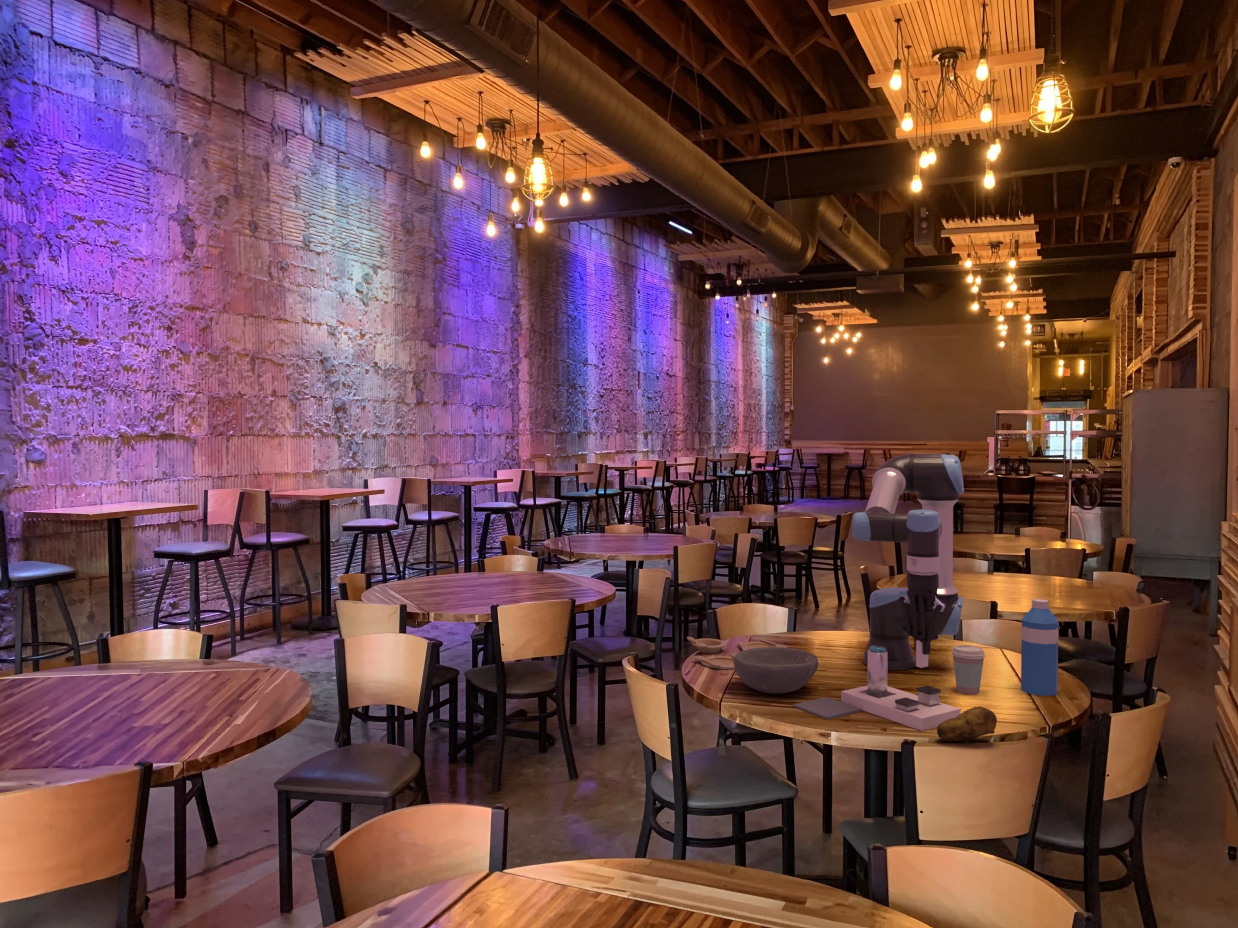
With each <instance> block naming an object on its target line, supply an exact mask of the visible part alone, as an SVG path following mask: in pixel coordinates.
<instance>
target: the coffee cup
mask: <svg viewBox="0 0 1238 928" xmlns="http://www.w3.org/2000/svg"><path fill="white" fill-rule="evenodd" d="M951 655H952V660H953V671H954V677H955V678H954V679H955V688H956V691H957V692H958V693H960V694H965V695H978V694H980V690H981V683H982V674H983V668H984V660H985V657H986V653H985V652H984V649H983V648H982V647H980V646H976V645H971V644H957V645H954V646H953V649H952V650H951Z"/></svg>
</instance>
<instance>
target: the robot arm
mask: <svg viewBox="0 0 1238 928" xmlns="http://www.w3.org/2000/svg"><path fill="white" fill-rule="evenodd" d="M871 485H872V490H871V493H870V496H869V499H868V502H867V505H866V507H865V511H861V512H860V511H859V512H855V513H854V514H853V516H852V521H851V522H852V525H851V526H852V527H851V530H852V536H853V538H854V539H855V540H856V541H863V542H864V541H865V542H882V543H906V544H907V545H906V546H907V547H906V570H907V571H908V572H907V573H906V587H899V586H898V587H887V588H886V587H885V588H881V589H877V590H874V591H872V592H871V594H870V596H869V605H868V607H869V639H868V642H867V645H866V648H865V651H864V653H863V664H864V665H866V666H868V650H869V649H870V646H875V645H876V646H883V647H886V651H888V671H906V670H911V669H913V668H915V667H917V668H920V669H922V668H926V667H927V668H928V667H929V655H930V654H931V643H932V641H935V640H936V641H937V640H938V638H939V636H954V635H955V636H956V635H957V634H958V632H959V629H960V622H961V617H962V610H963V602H964V597H962V596H960V595H959V589H957V588H956V587H955V586H954V584H953V583H954V582H953V576H954V575H953V574H954V573H953V572H954V571H953V570H954V569H953V568H954V563H953V561H954V558H953V556H954V555H953V554H954V549H953V548H954V536H953V535H954V505H956V503H958V502H959V495H960V496H961V495H963V494H964V492H965V488H964V478H963V471H962V465H961V460H960V458H959V457H958V456H956V455H955V454H954V455H953V454H943V453H941V454H940V453H937V454H936V453H935V454H933V453H932V454H931V453H930V454H929V453H928V454H910V453H909V454H900V455H898V456H894V457H892V458H890V459H888V460H887V461H885V462H884V463H883V462H882V464H881V465H880V466H879V467H877V468H876V470H875V472H874V474H873V476H872V480H871ZM907 493H909V494H916V498H917V499H916V500H917V501H918V502H919V503H920V504H921V505H922V506H921V507H922V509H911V510H909V511H908V512H907V513H896V509H897V506H898V501H899V497H900V495H902V494H907ZM910 637H911V638H912V639H913V645H914V646H913V650H914V653H915V656H914V653H913V650H912V645H911V642H910Z"/></svg>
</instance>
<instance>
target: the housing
mask: <svg viewBox="0 0 1238 928" xmlns="http://www.w3.org/2000/svg"><path fill="white" fill-rule="evenodd" d="M901 698H909V699H913V700H916V701H918V694H917V695H916V694H914V693H911V692H909V691H908V692H907V691H904V690H901V689H898V688H895V687H892V686H889V685H887V697H882V698H876V697H873V696H870V695H867V685H865V686H859V687H856V688H855V687H854V688H850V689H845V690H842V691H840V702H843V703H846V704H849V705H851V706H854V707H857V708H860V709H861V711H863V712H866V713H870V714H873V715H875V716H878V717H881V718H883V719H884V718H885V719H886V720H890V721H893V722H895V723H898V724H901V725H903V726H905V727H906V726H907V727H910V728H912V729H915V730H918V731H921V732H923V731H927V730H931V729H935V728H937V727H938V725H939V724H940V723H942V722H944V721H946V720H948V719H951V718H955V717H957V716H958V715H959V714H961V708H959V707H955V706H952V705H949V704H946V703H943V702H940V701H939V703H937V704H933V705H928V704H924V703H921V702H919V705H918V710H917V711H913V712H909V713H908V712H905V711H902V710H899V709H896V703H895V700H897V699H901Z"/></svg>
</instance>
